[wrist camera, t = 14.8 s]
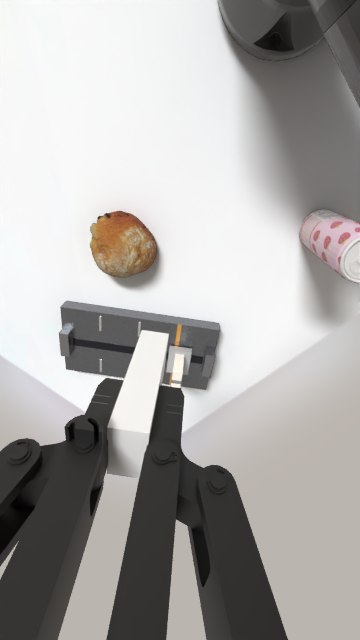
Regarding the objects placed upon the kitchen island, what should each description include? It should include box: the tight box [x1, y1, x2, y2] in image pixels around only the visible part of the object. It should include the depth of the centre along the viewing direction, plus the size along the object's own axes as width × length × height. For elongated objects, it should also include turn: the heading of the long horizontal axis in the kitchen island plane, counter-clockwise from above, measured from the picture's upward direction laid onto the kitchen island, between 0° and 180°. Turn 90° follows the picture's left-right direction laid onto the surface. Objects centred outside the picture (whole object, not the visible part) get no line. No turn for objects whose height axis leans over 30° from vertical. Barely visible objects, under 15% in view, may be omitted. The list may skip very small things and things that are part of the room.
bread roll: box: [90, 211, 156, 278], centre depth 44 cm, size 10×10×8 cm
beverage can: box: [299, 209, 360, 283], centre depth 37 cm, size 6×6×15 cm
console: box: [59, 301, 220, 390], centre depth 54 cm, size 28×14×4 cm, turn 83°
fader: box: [166, 346, 192, 388], centre depth 50 cm, size 4×5×7 cm
